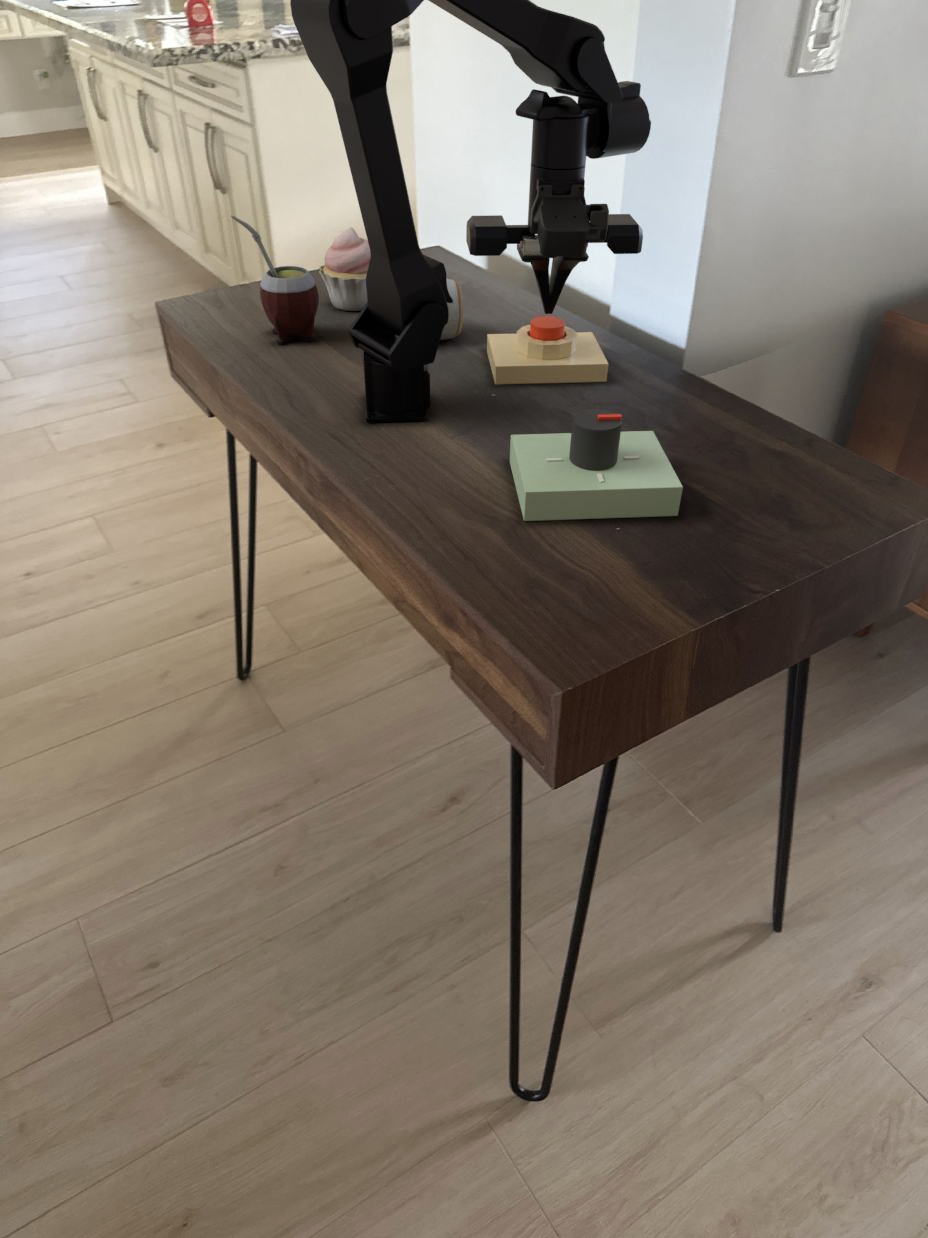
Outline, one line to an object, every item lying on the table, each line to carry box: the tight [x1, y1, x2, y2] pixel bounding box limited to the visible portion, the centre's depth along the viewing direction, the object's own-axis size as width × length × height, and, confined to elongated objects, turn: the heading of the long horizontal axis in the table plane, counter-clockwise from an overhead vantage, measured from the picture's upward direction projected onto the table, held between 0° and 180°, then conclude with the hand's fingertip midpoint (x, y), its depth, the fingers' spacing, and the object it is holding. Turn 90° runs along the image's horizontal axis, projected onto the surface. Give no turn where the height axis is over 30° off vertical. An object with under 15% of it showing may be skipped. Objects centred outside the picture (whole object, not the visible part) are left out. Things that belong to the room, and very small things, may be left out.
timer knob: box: [569, 408, 623, 470], centre depth 82 cm, size 4×4×4 cm
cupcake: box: [318, 226, 371, 312], centre depth 121 cm, size 9×9×10 cm
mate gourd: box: [230, 214, 320, 346], centre depth 109 cm, size 8×8×15 cm
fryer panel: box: [509, 430, 684, 522], centre depth 84 cm, size 14×11×3 cm
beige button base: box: [486, 324, 609, 385], centre depth 106 cm, size 13×10×4 cm
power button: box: [529, 315, 566, 341], centre depth 105 cm, size 4×4×2 cm
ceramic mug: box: [440, 278, 464, 341], centre depth 113 cm, size 11×8×8 cm
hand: (548, 312), depth 103 cm, fingers closed
